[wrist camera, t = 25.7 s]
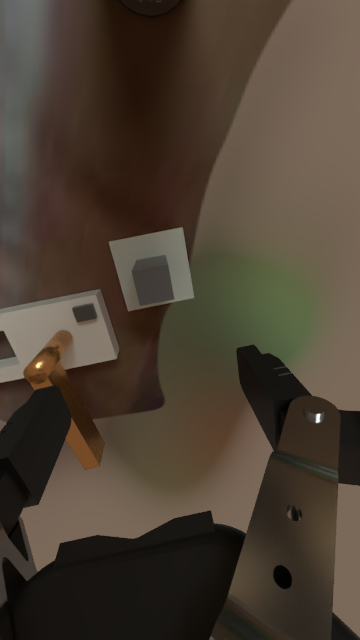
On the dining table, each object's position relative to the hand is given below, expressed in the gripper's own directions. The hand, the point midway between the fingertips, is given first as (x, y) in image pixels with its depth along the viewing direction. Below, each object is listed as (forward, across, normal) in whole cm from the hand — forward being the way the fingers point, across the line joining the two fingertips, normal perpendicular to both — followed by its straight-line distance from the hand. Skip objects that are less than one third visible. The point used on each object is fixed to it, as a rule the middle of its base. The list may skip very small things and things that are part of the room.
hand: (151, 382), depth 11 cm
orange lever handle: (+23, +13, +13) cm, 29 cm away
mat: (+26, 0, 0) cm, 26 cm away
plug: (+26, 0, 0) cm, 26 cm away
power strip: (+26, +19, +6) cm, 33 cm away
